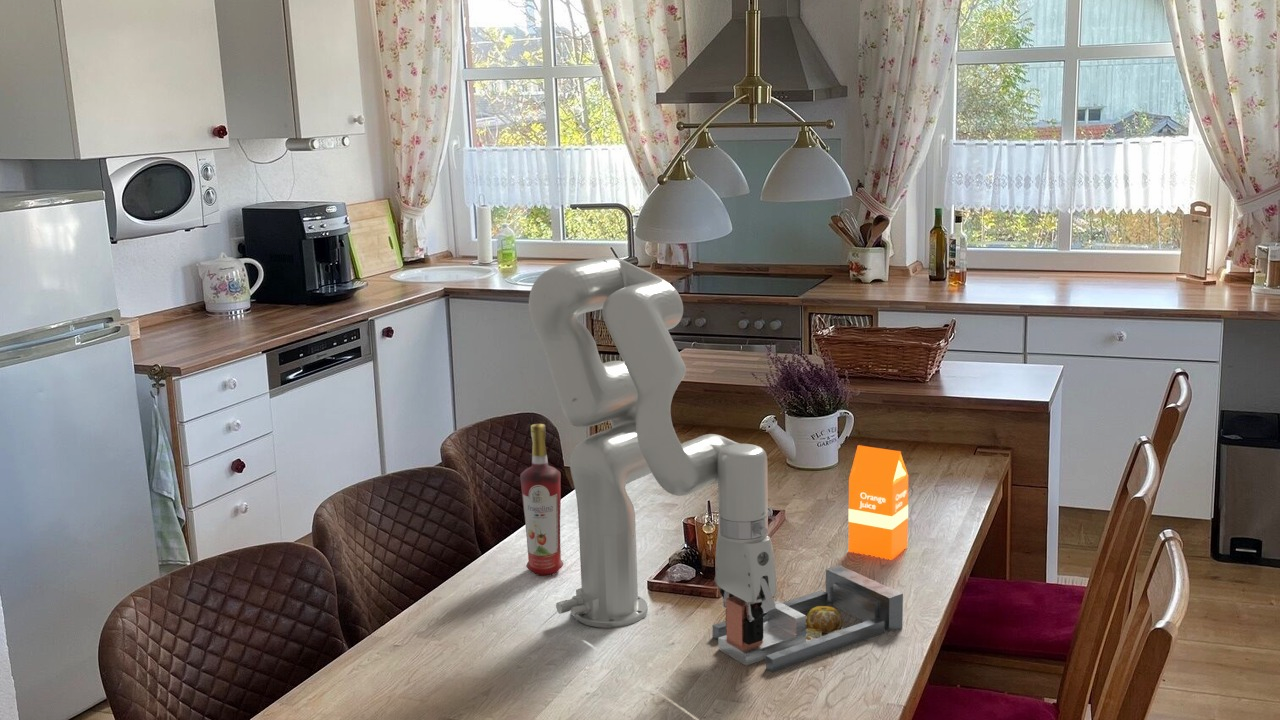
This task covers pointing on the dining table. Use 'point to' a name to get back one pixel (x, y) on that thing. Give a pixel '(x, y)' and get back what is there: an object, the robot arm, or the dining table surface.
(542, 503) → the liquor
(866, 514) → the orange juice
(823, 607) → the fruit
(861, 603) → the press frame
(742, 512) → the robot arm
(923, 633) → the dining table surface
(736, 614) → the ram
